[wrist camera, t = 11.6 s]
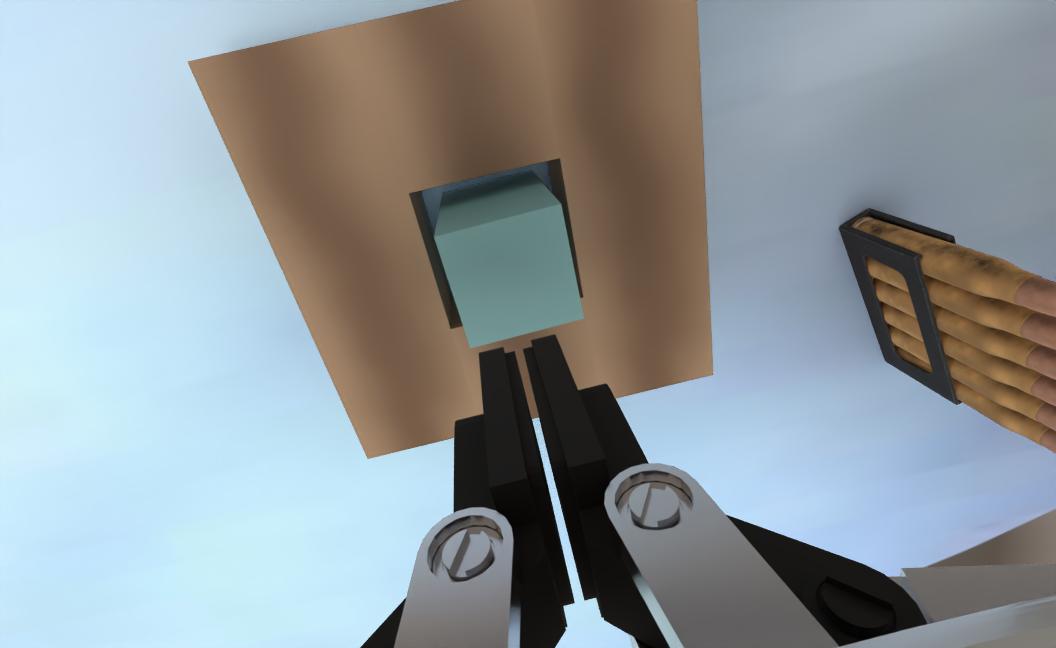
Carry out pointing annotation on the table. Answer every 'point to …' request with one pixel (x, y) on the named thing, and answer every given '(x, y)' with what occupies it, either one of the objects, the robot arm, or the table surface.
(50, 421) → the table surface
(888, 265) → the ammunition clip
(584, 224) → the socket block
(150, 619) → the table surface
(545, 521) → the robot arm
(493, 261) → the peg
